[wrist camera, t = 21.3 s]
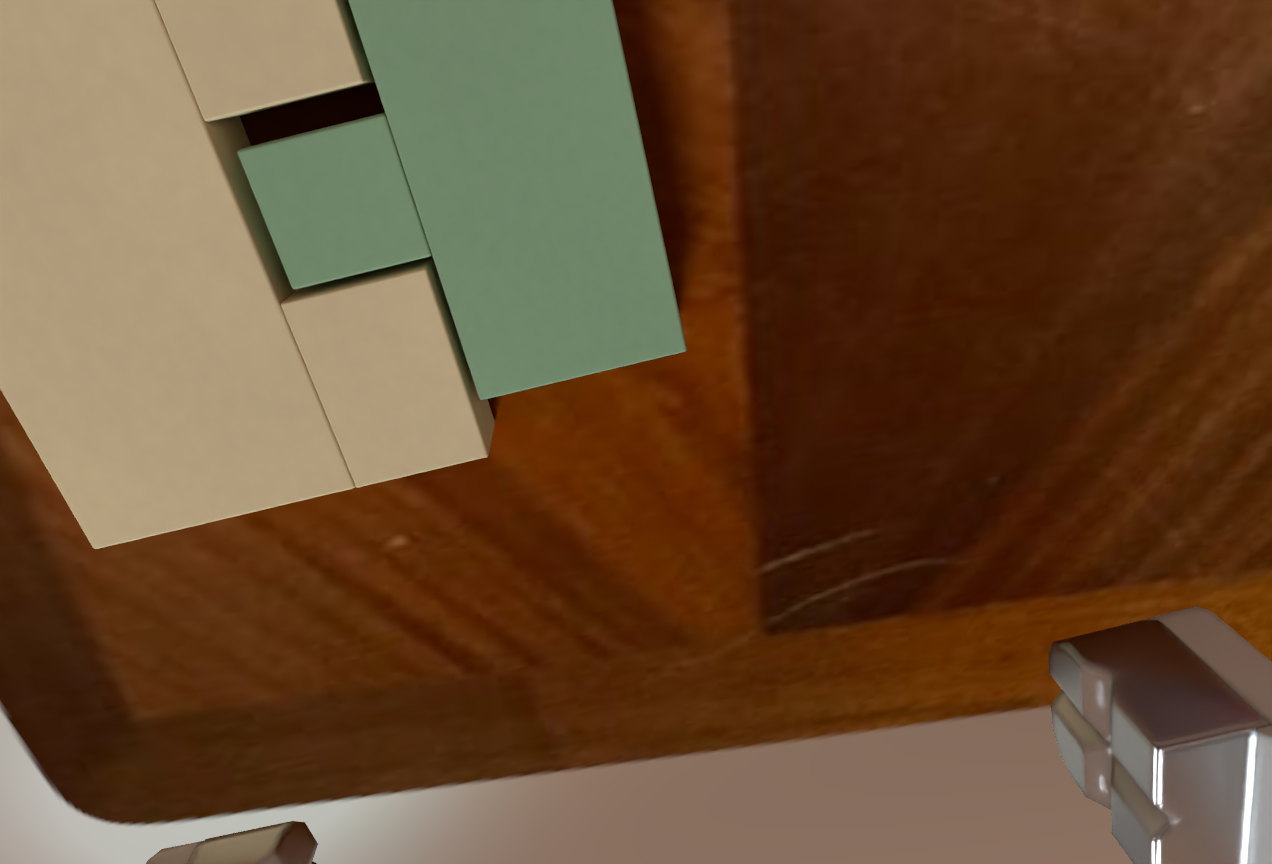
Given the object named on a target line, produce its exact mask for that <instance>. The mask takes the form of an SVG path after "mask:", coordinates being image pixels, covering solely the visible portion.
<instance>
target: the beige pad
mask: <svg viewBox="0 0 1272 864" xmlns="http://www.w3.org/2000/svg"><path fill="white" fill-rule="evenodd" d="M372 83H375V80H374V77H373V74H372V71H371V68H370V65H369V62H368V59H367V56H366V53H365V50H364V47H363V44H362V41H361V38H360V35H359V32H358V28H357V25H356V22H355V19H354V16H353V13H352V10H351V7H350V4H349V1H348V0H0V389H1V390H2V392H3V394H4V396H5V397H6V399H7V401H8V402H9V404H10V406H11V408H12V409H13V411H14V413H15V414H16V416H17V418H18V420H19V421H20V423H21V425H22V427H23V428H24V430H25V432H26V433H27V435H28V437H29V439H30V440H31V442H32V444H33V445H34V447H35V449H36V451H37V452H38V454H39V456H40V457H41V459H42V461H43V463H44V464H45V466H46V468H47V469H48V471H49V473H50V475H51V476H52V478H53V480H54V481H55V483H56V485H57V487H58V488H59V490H60V492H61V493H62V495H63V497H64V499H65V500H66V502H67V504H68V505H69V507H70V509H71V511H72V512H73V514H74V516H75V517H76V519H77V521H78V523H79V524H80V526H81V528H82V529H83V531H84V533H85V535H86V536H87V538H88V540H89V542H90V543H91V545H92V547H93V548H94V549H98V548H103V547H107V546H111V545H115V544H120V543H124V542H128V541H132V540H137V539H141V538H145V537H149V536H153V535H158V534H162V533H166V532H170V531H175V530H179V529H183V528H187V527H192V526H196V525H200V524H204V523H209V522H213V521H217V520H221V519H225V518H230V517H234V516H238V515H242V514H247V513H251V512H255V511H259V510H264V509H268V508H272V507H276V506H281V505H285V504H289V503H293V502H297V501H302V500H306V499H310V498H314V497H319V496H323V495H327V494H331V493H336V492H340V491H344V490H348V489H353V488H354V487H362V486H366V485H370V484H375V483H379V482H383V481H387V480H392V479H396V478H400V477H404V476H408V475H413V474H417V473H421V472H425V471H430V470H434V469H438V468H442V467H447V466H451V465H455V464H459V463H464V462H468V461H472V460H476V459H480V458H485V457H487V456H488V454H489V449H490V445H491V440H492V435H493V430H494V426H495V421H494V418H493V415H492V412H491V408H490V405H489V402H488V399H484V400H480V398H479V396H478V393H477V390H476V387H475V384H474V381H473V378H472V375H471V372H470V369H469V366H468V362H467V359H466V356H465V353H464V350H463V347H462V344H461V341H460V338H459V335H458V332H457V329H456V326H455V323H454V320H453V317H452V314H451V311H450V308H449V305H448V302H447V299H446V296H445V293H444V290H443V287H442V284H441V280H440V277H439V274H438V271H437V268H436V265H435V262H434V259H433V256H432V255H431V256H430V257H426V258H422V259H418V260H414V261H410V262H406V263H402V264H397V265H393V266H389V267H385V268H381V269H377V270H373V271H369V272H365V273H361V274H357V275H352V276H348V277H344V278H340V279H336V280H332V281H328V282H324V283H320V284H316V285H312V286H307V287H303V288H299V289H293V288H292V287H291V284H290V282H289V279H288V277H287V274H286V272H285V269H284V267H283V264H282V262H281V259H280V257H279V255H278V252H277V250H276V247H275V245H274V242H273V240H272V237H271V235H270V232H269V230H268V227H267V225H266V223H265V220H264V218H263V215H262V213H261V210H260V208H259V205H258V203H257V200H256V198H255V195H254V193H253V190H252V188H251V186H250V183H249V181H248V178H247V176H246V173H245V171H244V168H243V166H242V163H241V161H240V158H239V156H238V153H237V151H238V150H239V149H242V148H246V147H250V146H251V144H250V141H249V139H248V136H247V134H246V131H245V129H244V126H243V124H242V121H241V118H240V116H243V115H247V114H251V113H255V112H259V111H263V110H267V109H271V108H275V107H279V106H283V105H287V104H291V103H295V102H299V101H303V100H307V99H311V98H315V97H319V96H323V95H327V94H331V93H335V92H339V91H344V90H348V89H352V88H356V87H360V86H364V85H368V84H372Z"/></svg>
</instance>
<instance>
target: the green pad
mask: <svg viewBox="0 0 1272 864" xmlns="http://www.w3.org/2000/svg"><path fill="white" fill-rule="evenodd" d="M348 1H349V4H350V7H351V10H352V13H353V16H354V19H355V22H356V25H357V28H358V32H359V35H360V38H361V41H362V44H363V47H364V50H365V53H366V56H367V59H368V62H369V65H370V68H371V71H372V74H373V77H374V80H375V83H376V86H377V89H378V92H379V95H380V98H381V101H382V104H383V107H384V110H385V113H381V114H377V115H373V116H369V117H365V118H361V119H357V120H353V121H349V122H345V123H341V124H337V125H333V126H329V127H325V128H321V129H317V130H313V131H309V132H305V133H301V134H297V135H293V136H289V137H285V138H281V139H277V140H273V141H269V142H265V143H261V144H257V145H254V146H250V147H246V148H242V149H239V150H238V151H237V153H238V156H239V158H240V161H241V163H242V166H243V168H244V171H245V173H246V176H247V178H248V181H249V183H250V186H251V188H252V190H253V193H254V195H255V198H256V200H257V203H258V205H259V208H260V210H261V213H262V215H263V218H264V220H265V223H266V225H267V227H268V230H269V232H270V235H271V237H272V240H273V242H274V245H275V247H276V250H277V252H278V255H279V257H280V259H281V262H282V264H283V267H284V269H285V272H286V274H287V277H288V279H289V282H290V284H291V287H292V288H293V289H299V288H303V287H307V286H312V285H316V284H320V283H324V282H328V281H332V280H336V279H340V278H344V277H348V276H352V275H357V274H361V273H365V272H369V271H373V270H377V269H381V268H385V267H389V266H393V265H397V264H402V263H406V262H410V261H414V260H418V259H422V258H426V257H430V256H431V255H432V256H433V259H434V262H435V265H436V268H437V271H438V274H439V277H440V280H441V284H442V287H443V290H444V293H445V296H446V299H447V302H448V305H449V308H450V311H451V314H452V317H453V320H454V323H455V326H456V329H457V332H458V335H459V338H460V341H461V344H462V347H463V350H464V353H465V356H466V359H467V362H468V366H469V369H470V372H471V375H472V378H473V381H474V384H475V387H476V390H477V393H478V396H479V398H480V400H484V399H489V398H493V397H497V396H501V395H505V394H509V393H514V392H518V391H522V390H526V389H530V388H535V387H539V386H543V385H547V384H551V383H555V382H560V381H564V380H568V379H572V378H576V377H581V376H585V375H589V374H593V373H597V372H601V371H606V370H610V369H614V368H618V367H622V366H627V365H631V364H635V363H639V362H643V361H647V360H652V359H656V358H660V357H664V356H668V355H673V354H677V353H681V352H685V351H686V349H687V348H686V343H685V338H684V334H683V329H682V324H681V319H680V315H679V310H678V305H677V301H676V296H675V291H674V286H673V282H672V277H671V272H670V268H669V263H668V258H667V253H666V249H665V244H664V239H663V235H662V230H661V225H660V220H659V216H658V211H657V206H656V202H655V197H654V192H653V187H652V183H651V178H650V173H649V169H648V164H647V159H646V154H645V150H644V145H643V140H642V136H641V131H640V126H639V121H638V117H637V112H636V107H635V103H634V98H633V93H632V88H631V84H630V79H629V74H628V70H627V65H626V60H625V55H624V51H623V46H622V41H621V37H620V32H619V27H618V22H617V18H616V13H615V8H614V4H613V0H348Z"/></svg>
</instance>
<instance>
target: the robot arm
mask: <svg viewBox="0 0 1272 864" xmlns="http://www.w3.org/2000/svg"><path fill="white" fill-rule="evenodd" d="M1049 673H1050V674H1051V676H1052V677H1053V678H1054V679H1055V681H1056V682H1057V683H1058V685H1059V686H1060V687H1061V688H1062V690H1061V692H1060V693H1059V695H1058V696H1057V698H1056V699H1055V700H1054V702H1053V703H1052V705H1051V711H1052V723H1053V732H1054V735H1055V738H1056V741H1057V744H1058V747H1059V750H1060V753H1061V756H1062V758H1063V760H1064V762H1065V764H1066V766H1067V768H1068V769H1069V772H1070V774H1071V775H1072V777H1073V779H1074V780H1075V782H1076V783H1077V784H1078V786H1079V787H1080V789H1081V790H1082V792H1083V793H1084V795H1085V796H1086V797H1087V798H1089V799H1091V800H1093V801H1095V802H1097V803H1099V804H1101V805H1103V806H1104V807H1106V808H1108V809H1110V810H1111V815H1112V834H1113V836H1114V837H1115V839H1116V840H1117V841H1118V843H1119V844H1120V845H1121V847H1122V848H1123V849H1124V851H1125V852H1126V854H1127V855H1128V857H1129V858H1130V859H1131V861H1132V862H1133V864H1272V661H1270V660H1269V659H1268V658H1267V657H1266V656H1264V655H1263V654H1262V653H1261V652H1259V651H1258V650H1257V649H1256V648H1255V647H1253V646H1252V645H1251V644H1250V643H1249V642H1247V641H1246V640H1245V639H1244V638H1243V637H1241V636H1240V635H1239V634H1238V633H1237V632H1235V631H1234V630H1233V629H1232V628H1231V627H1229V626H1228V625H1227V624H1226V623H1225V622H1223V621H1222V620H1221V619H1220V618H1218V617H1217V616H1216V615H1215V614H1214V613H1212V612H1211V611H1210V610H1207V609H1204V608H1201V607H1198V606H1196V607H1192V608H1188V609H1184V610H1180V611H1176V612H1172V613H1168V614H1164V615H1160V616H1156V617H1152V618H1149V619H1148V620H1142V621H1138V622H1134V623H1129V624H1125V625H1121V626H1117V627H1113V628H1109V629H1105V630H1101V631H1097V632H1093V633H1088V634H1084V635H1080V636H1076V637H1072V638H1068V639H1064V640H1060V641H1056V642H1053V643H1052V646H1051V648H1050V651H1049ZM317 845H318V844H317V842H316V840H315V839H314V837H313V835H312V834H311V832H310V830H309V829H308V827H307V825H306V824H305V823H304V822H295V821H291V822H286V823H281V824H277V825H271V826H267V827H262V828H257V829H252V830H248V831H243V832H238V833H233V834H228V835H223V836H219V837H214V838H209V839H206V840H205V841H201V842H196V843H191V844H186V845H181V846H176V847H171V848H166V849H162V850H160V851H159V852H158V853H157V854H156V855H154V856H153V857H152V858H150V859H149V860H148V861H147V863H146V864H316V863H314V862H313V861H312V860H313V857H314V854H315V851H316V848H317Z"/></svg>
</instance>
